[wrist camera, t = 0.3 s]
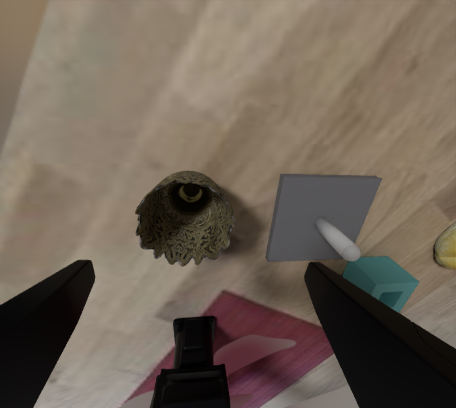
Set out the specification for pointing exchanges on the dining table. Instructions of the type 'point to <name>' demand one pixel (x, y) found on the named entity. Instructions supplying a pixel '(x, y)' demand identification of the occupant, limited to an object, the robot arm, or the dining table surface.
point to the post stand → (319, 216)
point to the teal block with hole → (382, 280)
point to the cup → (185, 219)
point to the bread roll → (446, 248)
